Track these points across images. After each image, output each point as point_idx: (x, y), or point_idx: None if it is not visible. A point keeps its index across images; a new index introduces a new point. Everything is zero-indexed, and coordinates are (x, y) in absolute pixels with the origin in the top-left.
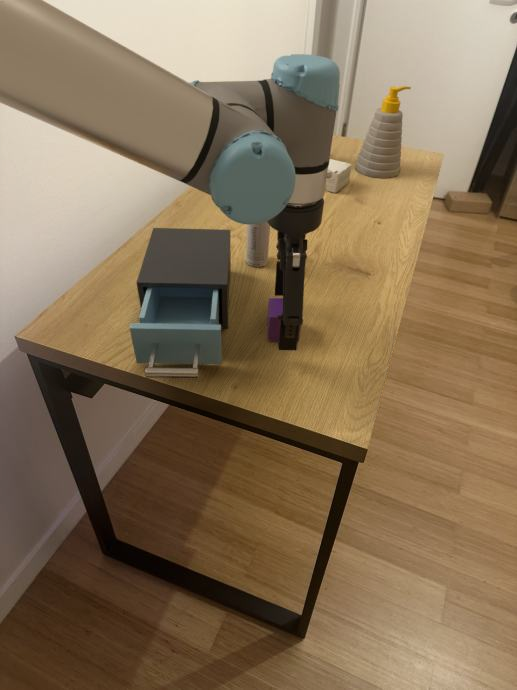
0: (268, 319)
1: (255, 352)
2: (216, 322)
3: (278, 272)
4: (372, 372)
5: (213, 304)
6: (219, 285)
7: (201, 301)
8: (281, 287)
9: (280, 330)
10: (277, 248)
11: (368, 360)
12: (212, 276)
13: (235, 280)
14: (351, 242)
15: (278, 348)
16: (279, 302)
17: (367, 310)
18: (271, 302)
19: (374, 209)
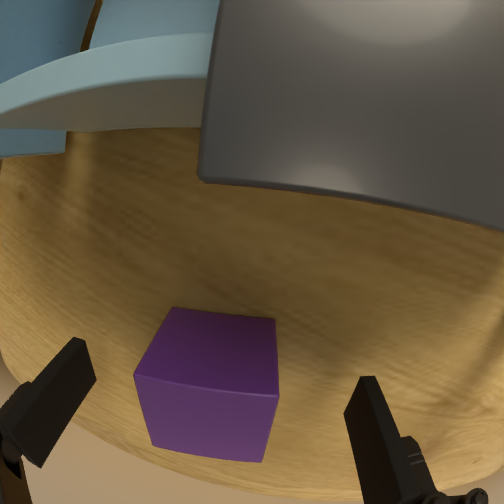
0: (202, 347)
1: (121, 259)
2: (10, 124)
3: (386, 464)
4: (117, 442)
5: (42, 74)
6: (208, 67)
7: None
8: (362, 417)
9: (30, 385)
10: (468, 502)
11: (143, 449)
12: (407, 8)
13: (491, 234)
14: (466, 448)
15: (76, 338)
16: (238, 422)
17: (285, 479)
18: (239, 401)
19: (497, 450)
